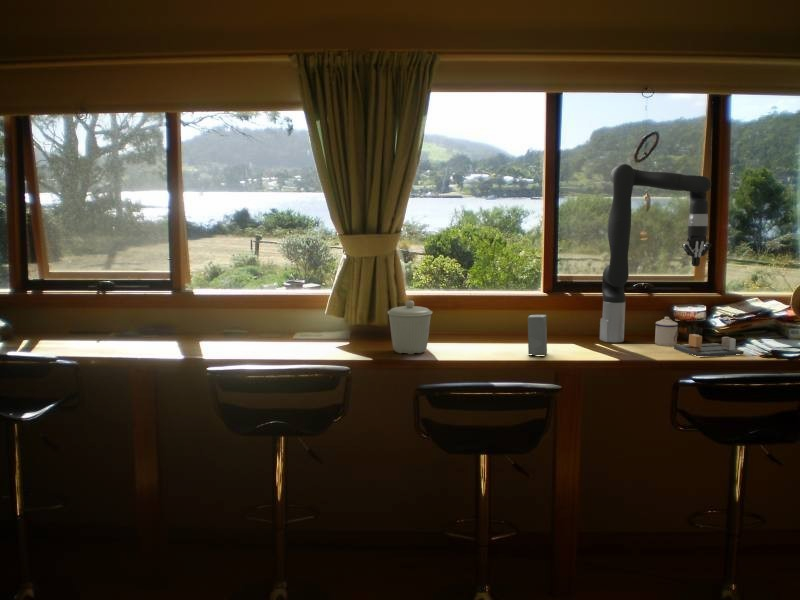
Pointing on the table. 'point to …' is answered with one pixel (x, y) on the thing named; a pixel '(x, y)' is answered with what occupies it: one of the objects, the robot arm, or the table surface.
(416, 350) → the canister
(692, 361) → the table surface
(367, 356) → the table surface
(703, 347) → the console
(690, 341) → the fader orange
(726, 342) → the fader silver
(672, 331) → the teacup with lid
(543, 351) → the skincare box
